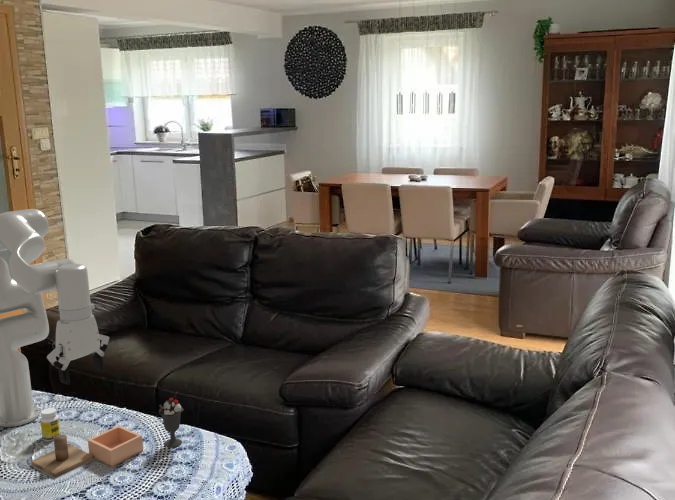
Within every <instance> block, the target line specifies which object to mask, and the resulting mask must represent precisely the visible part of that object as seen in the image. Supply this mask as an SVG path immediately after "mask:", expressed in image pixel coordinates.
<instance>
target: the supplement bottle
mask: <svg viewBox="0 0 675 500" xmlns="http://www.w3.org/2000/svg"><path fill="white" fill-rule="evenodd" d="M40 413H41V418H40V426H41V427H40V428H41V429H40V431H41V438H42V440H43V441H46V442H50V441H54V437H56V436H58V435H61V430H60V420H59V419H60V418H59V415H58V414H57V413H58V412H57V409H56V407H47V408H44V409H43V410H41V412H40Z"/></svg>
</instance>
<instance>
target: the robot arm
mask: <svg viewBox="0 0 675 500" xmlns="http://www.w3.org/2000/svg"><path fill="white" fill-rule="evenodd" d="M49 226H50V225H49V220H48V218H47V216H46V215H45V214H44V213H43V211H41V210H40V209H36V208H29V209H27V208H26V209H20V210H13V211H5V212H2V213H0V252H3V251H9V253H10V255H9V263H7V261H6V260H5V259H4V258H3V257H2V256H1V255H0V315H2V314H7V313H10V312H16V311H20V310H24V312H23V313H20V314H15V315H10V316H7V317H2V318H0V427H4V428H12V427H19V426H22V425H23V426H24V425H26V424H28V423H30V422H33V421H34V420H36V419H37V418H38V417H39V416H40V413H41V412H40V408H39V407H37V406H35V405H34V403H33V392H32V385H31V375H30V369H29V368H30V367H29V361H28V359H27V357H26V356H25V355H24V354H23V353H21V352H20V351H19V348H21V347H22V348H23V347H24V346H28V345H32V344H34V343H38V342H41V341H44V340H45V339H47V337H48V336H49V333H50V325H49V320H48V315H47V310H46V305H45V301H44V298H43V297H44V296H43V293H49V292H52V291H56V294H57V303H58V312H59V320H57V322H56V328H55V348H54V349H53V350H52V351H51V352H49V353H48V354H47V356H46V359H47V360H48V361H49V363H50V364H51V365H52V366H53V367H55V368H56V369H58V370H57V371H58V376H59V381H60V383H62V384H64V385H70V384H71V378H70V369H69V368H68V366H69V364H70V362H71V361H74V360H77V359H80V358H83V357H86V356H89V355H92V364H93V365H92V366H93V370H95V371H97V372H104V360H103V357H104V356H105V352H106V351H107V348H108V344H109V341H110V336H108V335H103V334H100V332H99V329H98V328H99V327H98V324H97V320H96V317H95V315H94V314H93V309H95V307H96V306H95V304H94V303H91V294H90V293H91V292H90V285H89V283H90V282H89V275H88V274H89V273H88V269H87V267H86V266H85V265H84V264H82V263H77V262H76V261H74V260H73V259H71V258H67V257H66V258H59V259H54V260H49V261H44V262H43V261H42V262H39V263H33V262H34V261H36V260H37V259H38V258H39V257H40V256H41V255H42V253H43V252H44V250H45V246H46V243H45V240H44V237H45V236H46V235H47V234H48V232H49V229H50V227H49ZM31 263H33V264H31ZM100 341H101V342H100ZM57 358H58V360H57Z"/></svg>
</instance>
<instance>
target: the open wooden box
mask: <svg viewBox="0 0 675 500" xmlns="http://www.w3.org/2000/svg"><path fill="white" fill-rule="evenodd" d="M143 443H144V442H143V435H142V434H140V433H138V432H136V431H133V430H131V429H128V428H125V427H124V426H121V425H117V426H114V427H112V428H111V429H108V430H106V431H103V432H102V433H100V434H97V435H95V436H93V437H90V438H89V439H88V440H87V444H88V453H89V454H91V455H93V458H95V460H97V461H100V462H101V463H104V464H105V465H107V466H109V467H111V468H113V467H115V466H117V465H120V464H121V463H123V462H125V461H126V460H128V459H130V458H132V457H134V456H137V455H138V454H140V453H142V452H144V446H143V445H144V444H143Z"/></svg>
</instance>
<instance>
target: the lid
mask: <svg viewBox="0 0 675 500" xmlns="http://www.w3.org/2000/svg"><path fill="white" fill-rule="evenodd" d="M53 446H54V450H52V451H50V452H48V453H45V454H44V455H41V456H39V457H37V458H35V459H32V460H31V463H32V465H34V466H36V467H37V468H39V469H41V470H43V471H45V472H46V473H48V474H50V475H52V476H54V477H55V478H56V477H58V476H60V475H62V474H64V473H66V472H68V471H70V470H72V469H74V468H76V467H78V466H80V465H82V464H84V463H86V462H88V461H90V460H92V459H93V455H91V454H89V452H86V451H84V450H82V449H80V448H78V447H77V446H74V445H72V444H70V443H68V436H67V435H66V434H60V435H58V436H56V437H54V440H53Z"/></svg>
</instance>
